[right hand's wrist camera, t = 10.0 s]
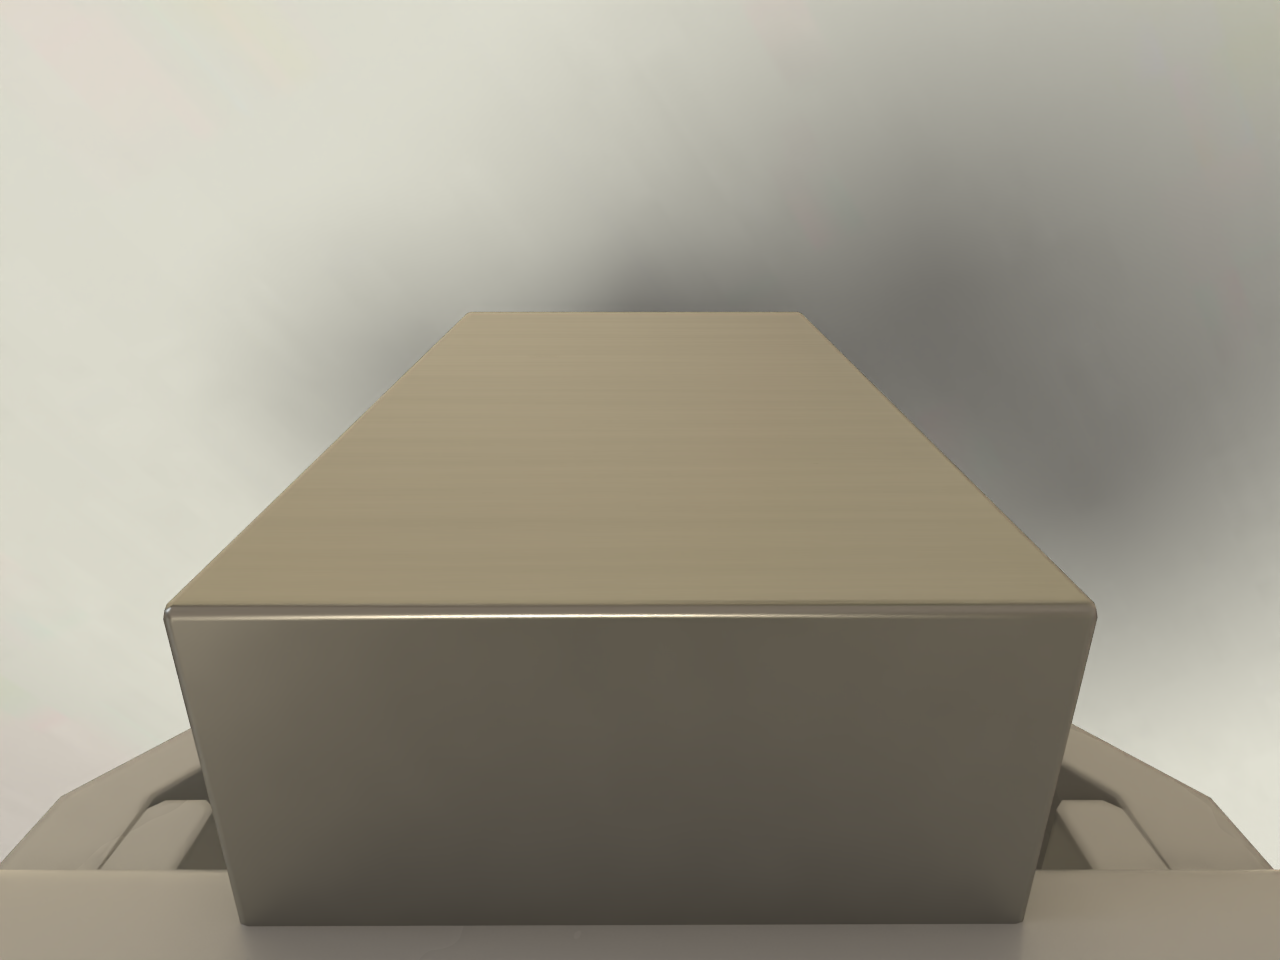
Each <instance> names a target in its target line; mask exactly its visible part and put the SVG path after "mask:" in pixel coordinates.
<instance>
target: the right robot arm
mask: <svg viewBox="0 0 1280 960" xmlns="http://www.w3.org/2000/svg"><path fill="white" fill-rule="evenodd" d="M0 960H1280V870H1274V869H1273V868H1272V867H1271V866H1270V864H1269V863H1268V862H1267V861H1266V860H1265V859H1264V858H1263V857H1262V855H1261V854H1260V853H1259V852H1258V851H1257V850H1256V849H1255V847H1254V846H1253V845H1252V844H1251V843H1250V842H1249V841H1248V840H1247V838H1246V837H1245V836H1244V835H1243V834H1242V833H1241V832H1240V831H1239V829H1238V828H1237V827H1236V826H1235V825H1234V824H1233V823H1232V821H1231V820H1230V819H1229V818H1228V817H1227V816H1226V815H1225V814H1224V812H1223V811H1222V810H1221V809H1220V808H1219V807H1218V806H1217V804H1216V803H1215V802H1214V801H1213V800H1212V799H1211V798H1210V797H1208V796H1206V795H1204V794H1202V793H1200V792H1199V791H1197V790H1195V789H1193V788H1191V787H1189V786H1187V785H1186V784H1184V783H1182V782H1180V781H1178V780H1176V779H1174V778H1172V777H1171V776H1169V775H1167V774H1165V773H1163V772H1161V771H1159V770H1157V769H1156V768H1154V767H1152V766H1150V765H1148V764H1146V763H1144V762H1142V761H1141V760H1139V759H1137V758H1135V757H1133V756H1131V755H1129V754H1127V753H1126V752H1124V751H1122V750H1120V749H1118V748H1116V747H1114V746H1112V745H1111V744H1109V743H1107V742H1105V741H1103V740H1101V739H1099V738H1097V737H1096V736H1094V735H1092V734H1090V733H1088V732H1086V731H1084V730H1082V729H1081V728H1079V727H1077V726H1075V725H1073V724H1071V727H1070V732H1069V736H1068V740H1067V744H1066V748H1065V752H1064V756H1063V760H1062V764H1061V768H1060V773H1059V777H1058V781H1057V785H1056V789H1055V793H1054V797H1053V801H1052V805H1051V809H1050V813H1049V818H1048V822H1047V826H1046V830H1045V834H1044V838H1043V842H1042V846H1041V850H1040V854H1039V858H1038V863H1037V867H1036V871H1035V875H1034V879H1033V883H1032V887H1031V891H1030V895H1029V899H1028V904H1027V908H1026V912H1025V916H1024V920H1023V921H1022V922H1019V923H1017V924H813V925H509V926H245V925H243V924H240V920H239V916H238V912H237V908H236V904H235V900H234V896H233V892H232V888H231V884H230V880H229V876H228V872H227V868H226V864H225V860H224V856H223V852H222V849H221V845H220V841H219V837H218V833H217V829H216V825H215V821H214V817H213V813H212V809H211V805H210V801H209V797H208V793H207V789H206V785H205V781H204V778H203V774H202V770H201V766H200V762H199V758H198V754H197V750H196V746H195V742H194V738H193V734H192V730H191V728H190V729H188V730H187V731H185V732H183V733H181V734H179V735H177V736H175V737H173V738H171V739H169V740H168V741H166V742H164V743H162V744H160V745H158V746H156V747H154V748H152V749H150V750H149V751H147V752H145V753H143V754H141V755H139V756H137V757H135V758H133V759H131V760H130V761H128V762H126V763H124V764H122V765H120V766H118V767H116V768H114V769H113V770H111V771H109V772H107V773H105V774H103V775H101V776H99V777H97V778H95V779H94V780H92V781H90V782H88V783H86V784H84V785H82V786H80V787H78V788H76V789H75V790H73V791H71V792H69V793H67V794H65V795H63V796H61V797H60V798H59V799H58V800H57V801H56V803H55V804H54V805H53V806H52V807H51V808H50V809H49V810H48V811H47V813H46V814H45V815H44V816H43V817H42V818H41V819H40V820H39V821H38V822H37V824H36V825H35V826H34V827H33V828H32V829H31V830H30V831H29V832H28V834H27V835H26V836H25V837H24V838H23V839H22V840H21V841H20V842H19V843H18V845H17V846H16V847H15V848H14V849H13V850H12V851H11V852H10V853H9V855H8V856H7V857H6V858H5V859H4V860H3V861H2V862H1V863H0Z"/></svg>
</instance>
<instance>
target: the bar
mask: <svg viewBox="0 0 1280 960" xmlns="http://www.w3.org/2000/svg"><path fill="white" fill-rule="evenodd" d="M163 620H164V624H165V628H166V632H167V636H168V639H169V643H170V647H171V651H172V655H173V659H174V663H175V667H176V671H177V675H178V679H179V683H180V687H181V691H182V695H183V699H184V703H185V707H186V710H187V714H188V718H189V722H190V726H191V730H192V734H193V738H194V742H195V746H196V750H197V754H198V758H199V762H200V766H201V770H202V774H203V778H204V781H205V785H206V789H207V793H208V797H209V801H210V805H211V809H212V813H213V817H214V821H215V825H216V829H217V833H218V837H219V841H220V845H221V849H222V852H223V856H224V860H225V864H226V868H227V872H228V876H229V880H230V884H231V888H232V892H233V896H234V900H235V904H236V908H237V912H238V916H239V920H240V924H243V925H245V926H509V925H813V924H1017V923H1019V922H1022V921H1023V920H1024V916H1025V912H1026V908H1027V904H1028V899H1029V895H1030V891H1031V887H1032V883H1033V879H1034V875H1035V871H1036V867H1037V863H1038V858H1039V854H1040V850H1041V846H1042V842H1043V838H1044V834H1045V830H1046V826H1047V822H1048V818H1049V813H1050V809H1051V805H1052V801H1053V797H1054V793H1055V789H1056V785H1057V781H1058V777H1059V773H1060V768H1061V764H1062V760H1063V756H1064V752H1065V748H1066V744H1067V740H1068V736H1069V732H1070V727H1071V723H1072V719H1073V715H1074V711H1075V707H1076V703H1077V699H1078V695H1079V691H1080V687H1081V682H1082V678H1083V674H1084V670H1085V666H1086V662H1087V658H1088V654H1089V650H1090V646H1091V641H1092V637H1093V633H1094V629H1095V625H1096V621H1097V611H1096V607H1095V604H1094V602H1093V601H1092V600H1091V599H1090V598H1089V597H1088V596H1087V595H1086V594H1085V593H1084V592H1083V591H1082V590H1081V589H1080V588H1079V587H1078V586H1077V585H1076V584H1075V583H1074V582H1073V581H1072V580H1071V579H1070V578H1069V577H1068V576H1067V575H1066V574H1065V573H1064V572H1063V571H1062V570H1061V569H1060V568H1059V567H1057V566H1056V565H1055V564H1054V563H1053V562H1052V561H1051V560H1050V559H1049V558H1048V557H1047V556H1046V555H1045V554H1044V553H1043V552H1042V551H1041V550H1040V549H1039V548H1038V547H1037V546H1036V545H1035V544H1034V543H1033V542H1032V541H1031V540H1030V539H1029V538H1028V537H1027V536H1026V535H1025V534H1024V533H1023V532H1022V531H1021V530H1020V529H1019V528H1018V527H1017V526H1016V525H1015V524H1014V523H1013V522H1012V521H1011V520H1010V519H1009V518H1008V517H1007V516H1006V515H1005V514H1004V513H1003V512H1002V511H1001V510H1000V509H999V508H998V507H997V506H996V505H995V504H994V503H993V502H992V501H991V500H990V499H989V498H988V497H987V496H986V495H985V494H984V493H983V492H982V491H981V490H980V489H979V488H978V487H977V486H976V485H975V484H974V483H973V482H972V481H971V480H970V479H969V478H968V477H967V476H965V475H964V474H963V473H962V472H961V471H960V470H959V469H958V468H957V467H956V466H955V465H954V464H953V463H952V462H951V461H950V460H949V459H948V458H947V457H946V456H945V455H944V454H943V453H942V452H941V451H940V450H939V449H938V448H937V447H936V446H935V445H934V444H933V443H932V442H931V441H930V440H929V439H928V438H927V437H926V436H925V435H924V434H923V433H922V432H921V431H920V430H919V429H918V428H917V427H916V426H915V425H914V424H913V423H912V422H911V421H910V420H909V419H908V418H907V417H906V416H905V415H904V414H903V413H902V412H901V411H900V410H899V409H898V408H897V407H896V406H895V405H894V404H893V403H892V402H891V401H890V400H889V399H888V398H887V397H886V396H885V395H884V394H883V393H882V392H881V391H880V390H879V389H878V388H877V387H876V386H875V385H873V384H872V383H871V382H870V381H869V380H868V379H867V378H866V377H865V376H864V375H863V374H862V373H861V372H860V371H859V370H858V369H857V368H856V367H855V366H854V365H853V364H852V363H851V362H850V361H849V360H848V359H847V358H846V357H845V356H844V355H843V354H842V353H841V352H840V351H839V350H838V349H837V348H836V347H835V346H834V345H833V344H832V343H831V342H830V341H829V340H828V339H827V338H826V337H825V336H824V335H823V334H822V333H821V332H820V331H819V330H818V329H817V328H816V327H815V326H814V325H813V324H812V323H811V322H810V321H809V320H808V319H807V318H806V317H805V316H804V315H803V314H802V313H799V312H469V313H467V314H466V315H465V316H464V317H463V318H462V319H461V320H460V321H459V322H458V323H457V324H456V325H455V326H454V327H453V328H452V329H451V330H449V331H448V332H447V333H446V334H445V335H444V336H443V337H442V338H441V339H440V340H439V341H438V342H437V343H436V344H435V345H434V346H433V347H432V348H431V349H430V350H429V351H428V352H427V353H426V354H425V355H424V356H423V357H422V358H421V359H420V360H419V361H417V362H416V363H415V364H414V365H413V366H412V367H411V368H410V369H409V370H408V371H407V372H406V373H405V374H404V375H403V376H402V377H401V378H400V379H399V380H398V381H397V382H396V383H395V384H394V385H393V386H392V387H391V388H390V389H389V390H388V391H386V392H385V393H384V394H383V395H382V396H381V397H380V398H379V399H378V400H377V401H376V402H375V403H374V404H373V405H372V406H371V407H370V408H369V409H368V410H367V411H366V412H365V413H364V414H363V415H362V416H361V417H360V418H359V419H358V420H357V421H356V422H354V423H353V424H352V425H351V426H350V427H349V428H348V429H347V430H346V431H345V432H344V433H343V434H342V435H341V436H340V437H339V438H338V439H337V440H336V441H335V442H334V443H333V444H332V445H331V446H330V447H329V448H328V449H327V450H326V451H325V452H324V453H322V454H321V455H320V456H319V457H318V458H317V459H316V460H315V461H314V462H313V463H312V464H311V465H310V466H309V467H308V468H307V469H306V470H305V471H304V472H303V473H302V474H301V475H300V476H299V477H298V478H297V479H296V480H295V481H294V482H293V483H292V484H290V485H289V486H288V487H287V488H286V489H285V490H284V491H283V492H282V493H281V494H280V495H279V496H278V497H277V498H276V499H275V500H274V501H273V502H272V503H271V504H270V505H269V506H268V507H267V508H266V509H265V510H264V511H263V512H262V513H261V514H259V515H258V516H257V517H256V518H255V519H254V520H253V521H252V522H251V523H250V524H249V525H248V526H247V527H246V528H245V529H244V530H243V531H242V532H241V533H240V534H239V535H238V536H237V537H236V538H235V539H234V540H233V541H232V542H231V543H230V544H229V545H227V546H226V547H225V548H224V549H223V550H222V551H221V552H220V553H219V554H218V555H217V556H216V557H215V558H214V559H213V560H212V561H211V562H210V563H209V564H208V565H207V566H206V567H205V568H204V569H203V570H202V571H201V572H200V573H199V574H198V575H197V576H195V577H194V578H193V579H192V580H191V581H190V582H189V583H188V584H187V585H186V586H185V587H184V588H183V589H182V590H181V591H180V592H179V593H178V594H177V595H176V596H175V597H174V598H173V599H172V600H171V601H170V602H169V603H168V604H167V605H166V608H165V610H164V618H163Z"/></svg>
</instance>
